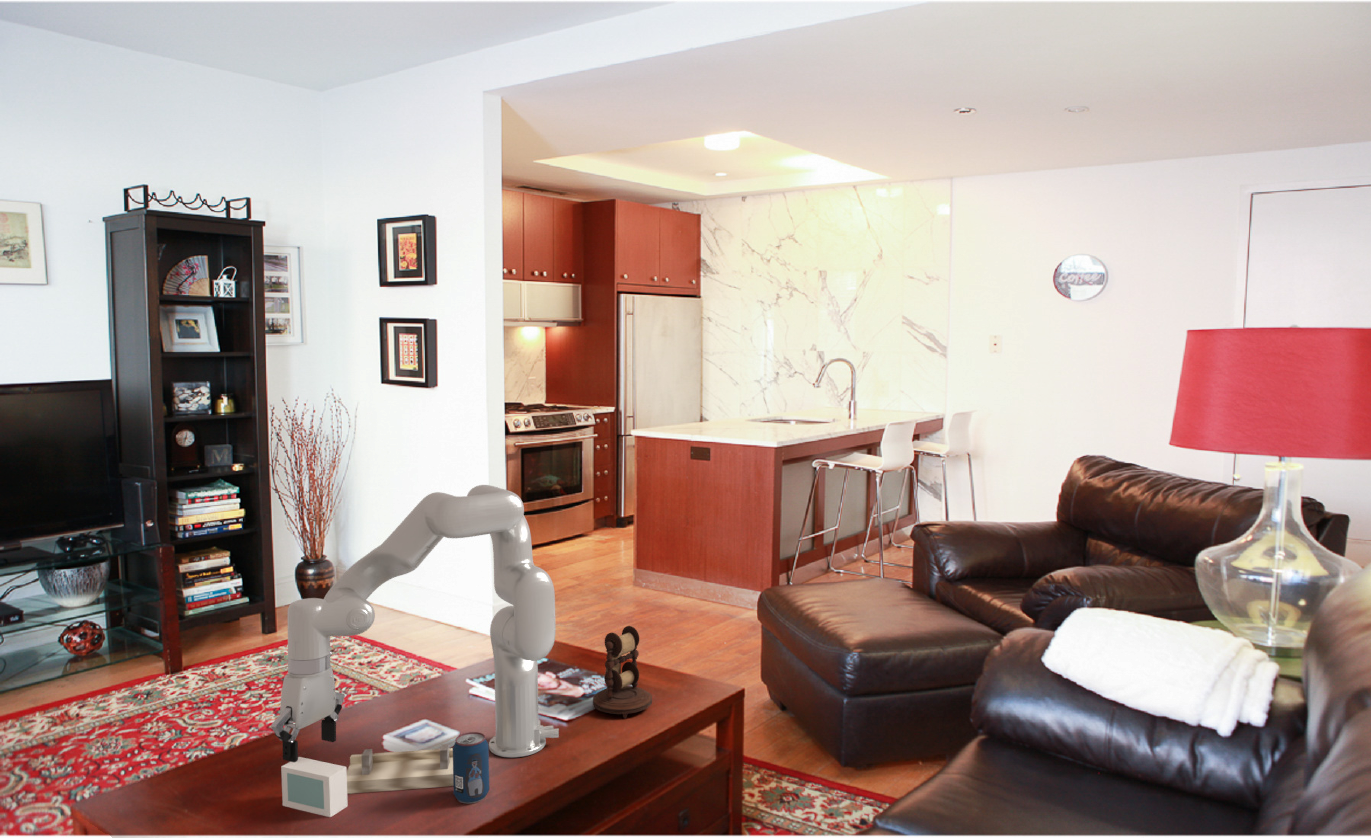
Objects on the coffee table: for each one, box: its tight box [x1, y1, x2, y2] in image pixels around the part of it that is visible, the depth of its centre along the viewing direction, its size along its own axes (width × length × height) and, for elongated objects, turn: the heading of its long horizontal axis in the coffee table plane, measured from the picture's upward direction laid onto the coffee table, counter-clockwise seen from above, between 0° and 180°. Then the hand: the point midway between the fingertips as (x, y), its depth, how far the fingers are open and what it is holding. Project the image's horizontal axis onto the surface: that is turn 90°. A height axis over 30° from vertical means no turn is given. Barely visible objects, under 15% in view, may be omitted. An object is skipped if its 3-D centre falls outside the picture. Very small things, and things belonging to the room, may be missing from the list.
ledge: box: [346, 743, 453, 795], centre depth 182 cm, size 24×9×6 cm, turn 98°
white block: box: [280, 756, 348, 818], centre depth 171 cm, size 12×5×8 cm, turn 68°
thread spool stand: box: [592, 625, 653, 720], centre depth 218 cm, size 15×15×20 cm
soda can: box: [452, 731, 490, 805], centre depth 174 cm, size 7×7×12 cm
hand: (310, 750), depth 170 cm, fingers open, 9 cm apart
